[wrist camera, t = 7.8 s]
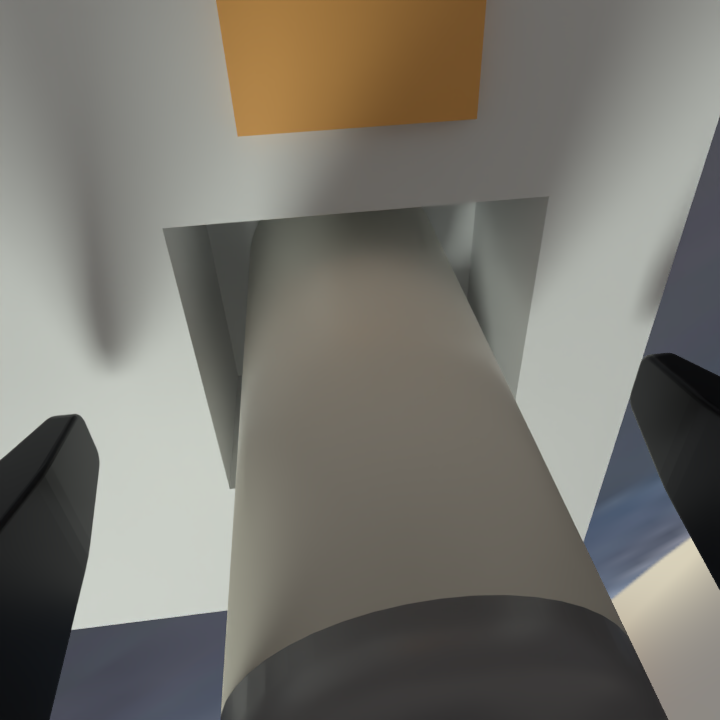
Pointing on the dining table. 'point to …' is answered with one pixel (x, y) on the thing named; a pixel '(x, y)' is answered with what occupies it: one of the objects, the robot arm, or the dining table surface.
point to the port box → (323, 197)
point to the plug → (399, 504)
